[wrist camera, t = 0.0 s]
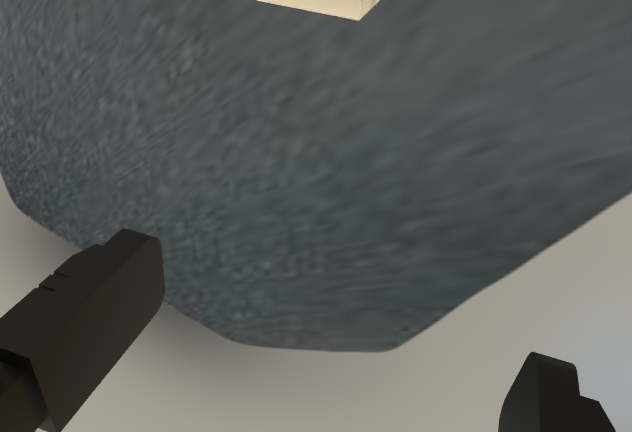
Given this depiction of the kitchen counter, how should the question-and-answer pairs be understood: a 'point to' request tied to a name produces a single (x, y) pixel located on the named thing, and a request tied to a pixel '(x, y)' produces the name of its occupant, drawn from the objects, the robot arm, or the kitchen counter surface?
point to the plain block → (331, 6)
